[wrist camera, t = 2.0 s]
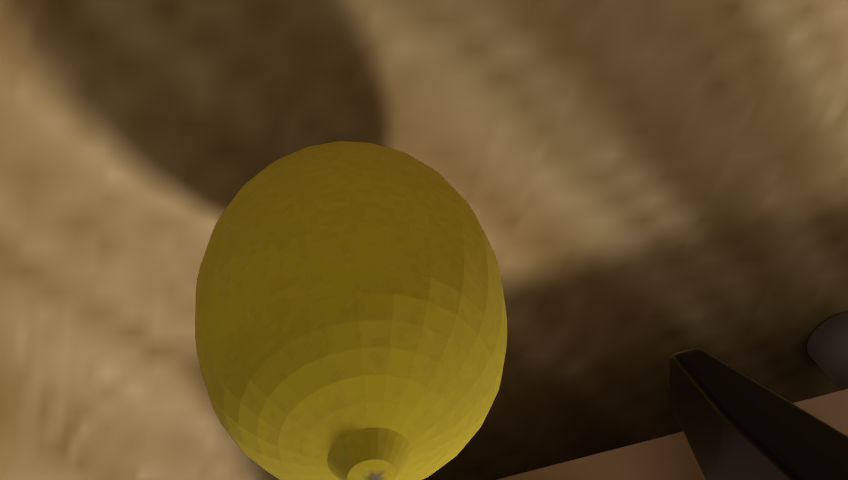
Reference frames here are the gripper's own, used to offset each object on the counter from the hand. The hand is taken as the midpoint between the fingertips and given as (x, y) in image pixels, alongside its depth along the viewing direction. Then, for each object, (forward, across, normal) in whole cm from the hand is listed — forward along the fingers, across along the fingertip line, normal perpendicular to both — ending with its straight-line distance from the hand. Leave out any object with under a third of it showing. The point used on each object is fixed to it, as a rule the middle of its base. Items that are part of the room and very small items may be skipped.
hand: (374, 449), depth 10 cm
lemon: (+8, 0, 0) cm, 8 cm away
